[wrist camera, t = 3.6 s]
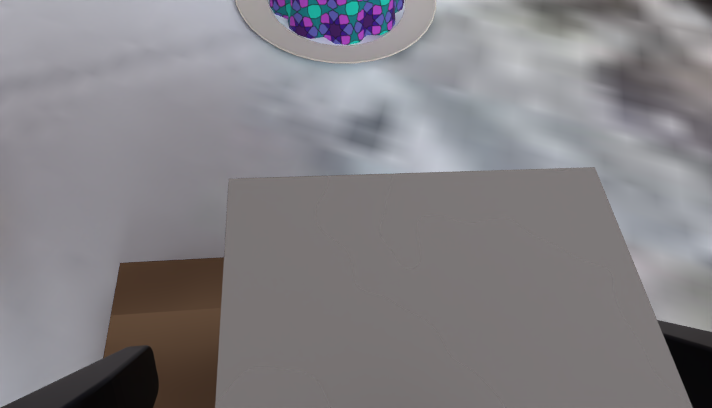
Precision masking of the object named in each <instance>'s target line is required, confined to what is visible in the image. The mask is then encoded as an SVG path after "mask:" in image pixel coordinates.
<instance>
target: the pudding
mask: <svg viewBox="0 0 712 408" xmlns="http://www.w3.org/2000/svg"><path fill="white" fill-rule="evenodd" d="M269 1H270V7H271V9H272V10H273V12H274V13H275V14H276V15H279V16H282V17H284V18H287V19H288V23H289V27H290V29H291V30H293V31H294V32H295V33H297V34H298V35H300V36H303V37H307V38H310V39H312V38H319V37H325V38H327V39H328V40H330V41H332V42H333V43H335V44H344V45H349V44H354V43H359V42H360V41H361V40H362V39H363V38H364V37H365V36H366V35H382V34H384V33H386V32H388V31H390V30H391V28H392V27H393V26H394V24H395V13H396V12H398V11H400V10H402V8H403V4H404V0H269ZM235 2H236V5H237V7H238V10H239V12H240V14H241V16H242V17H243V19H244V20H245V21H246V23H247V24H248V25H249V26H250V28H251V29H252V30H254V31H255V32H256V33H257V34H258V35H259V36H260V37H262V38H263V39H264V40H266V41H267V42H269V43H271V44H272V45H274V46H276V47H277V48H279V49H282V50H284V51H286V52H289V53H291V54H293V55H296V56H299V57H303V58H307V59H310V60H314V61H321V62H328V63H361V62H369V61H375V60H378V59H382V58H386V57H389V56H392V55H394V54H396V53H398V52H401V51H403V50H405V49H406V48H408V47H409V46H411V45H412V44H414V43H415V42H416V41H418V40H419V39H420V38H421V37H422V35H423V34H424V33H425V32H426V31H427V30H428V28H429V26H430V24H431V23H432V21H433V18H434V15H435V11H436V0H405V10H404V13H403V16H402V19H401V20H400V22H399V23H398V25H397V26H396V27H395V28H394V29H393V30H392V31H391V32H389V33H387V34H386V35H384V36H383V37H381V38H379V39H376V40H374V41H371V42H367V43H364V44H359V45H350V46H334V45H327V44H321V43H317V42H314V41H310V40H307V39H305V38H303V37H300V36H298V35H296V34H295V33H293V32H291V31H290V30H288V29H287V28H286V27H284V26H283V25H282V24H281V23H280V22H279V21H278V20H277V19H276V17H275V16H274V15H273V13H272V11H271V9H270V7H269V3H268V0H235Z"/></svg>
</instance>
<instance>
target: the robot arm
mask: <svg viewBox="0 0 712 408" xmlns="http://www.w3.org/2000/svg"><path fill="white" fill-rule="evenodd" d="M657 321H658V324H659V326H660V329H661V331H662V334H663V336H664V338H665V341H666V343H667V346H668V348H669V351H670V353H671V356H672V358H673V360H674V363H675V365H676V368H677V370H678V373H679V375H680V378H681V380H682V383H683V385H684V387H685V390H686V392H687V395H688V397H689V400H690V402H691V405H692V407H693V408H712V332H709V331H704V330H700V329H695V328H691V327H686V326H682V325H677V324H673V323H668V322H664V321H659V320H657ZM158 390H159V378H158V373H157V368H156V363H155V358H154V353H153V350H152V348H151V347H150V346H148V345H142V346H130V347H126V348H124V349H122V350H120V351H118V352H116V353H114V354H111V355H109V356H107V357H105V358H103V359H101V360H99V361H97V362H95V363H93V364H91V365H89V366H87V367H84V368H82V369H80V370H78V371H76V372H74V373H72V374H70V375H68V376H66V377H64V378H62V379H59V380H57V381H55V382H53V383H51V384H49V385H47V386H45V387H43V388H41V389H39V390H37V391H34V392H32V393H30V394H28V395H26V396H24V397H22V398H20V399H18V400H16V401H14V402H12V403H9V404H7V405H5V406H3V407H1V408H153V407H154V404H155V401H156V398H157V395H158Z"/></svg>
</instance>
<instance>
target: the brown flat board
mask: <svg viewBox="0 0 712 408" xmlns="http://www.w3.org/2000/svg"><path fill="white" fill-rule="evenodd" d="M223 267H224V257H223V258H204V259H185V260H167V261H148V262H129V263H120V266H119V272H118V278H117V283H116V289H115V295H114V300H113V306H112V311H111V317H110V323H109V328H108V334H107V340H106V345H105V351H104V356H103V358H105V357H107V356H109V355H111V354H114V353H116V352H118V351H120V350H122V349H124V348H126V347H130V346H142V345H148V346H150V347H151V348H152V350H153V353H154V358H155V363H156V368H157V373H158V378H159V390H158V395H157V398H156V401H155V404H154V407H153V408H215V402H216V385H217V368H218V351H219V335H220V318H221V301H222V284H223Z"/></svg>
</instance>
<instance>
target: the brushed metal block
mask: <svg viewBox="0 0 712 408" xmlns="http://www.w3.org/2000/svg"><path fill="white" fill-rule="evenodd" d="M215 408H693V407H692V405H691V402H690V400H689V397H688V395H687V392H686V390H685V387H684V385H683V383H682V380H681V378H680V375H679V373H678V370H677V368H676V365H675V363H674V360H673V358H672V356H671V353H670V351H669V348H668V346H667V343H666V341H665V338H664V336H663V334H662V331H661V329H660V326H659V324H658V321H657V319H656V316H655V314H654V311H653V309H652V307H651V304H650V302H649V299H648V297H647V294H646V292H645V289H644V287H643V284H642V282H641V280H640V277H639V275H638V272H637V270H636V267H635V265H634V262H633V260H632V258H631V255H630V253H629V250H628V248H627V245H626V243H625V240H624V238H623V235H622V233H621V231H620V228H619V226H618V223H617V221H616V218H615V216H614V213H613V211H612V209H611V206H610V204H609V201H608V199H607V196H606V194H605V191H604V189H603V186H602V184H601V182H600V179H599V177H598V174H597V172H596V169H595V167H590V168H558V169H526V170H494V171H462V172H430V173H398V174H366V175H334V176H302V177H270V178H238V179H229V184H228V200H227V217H226V234H225V251H224V267H223V284H222V301H221V318H220V335H219V351H218V368H217V385H216V402H215Z"/></svg>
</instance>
